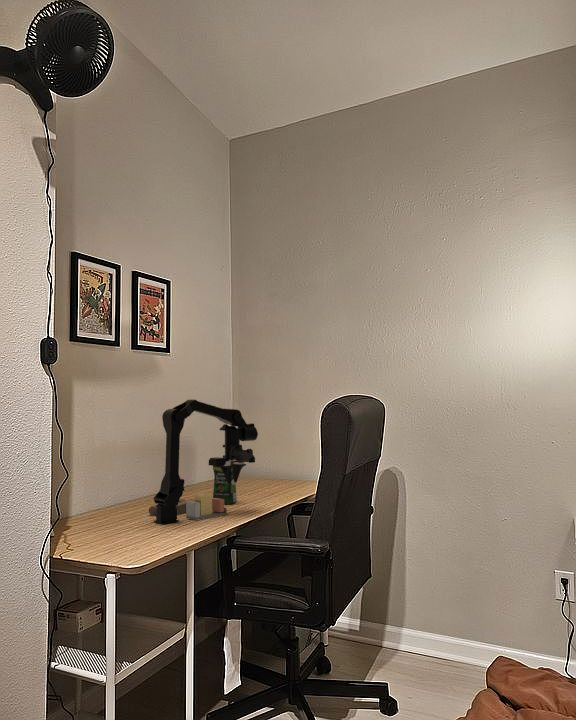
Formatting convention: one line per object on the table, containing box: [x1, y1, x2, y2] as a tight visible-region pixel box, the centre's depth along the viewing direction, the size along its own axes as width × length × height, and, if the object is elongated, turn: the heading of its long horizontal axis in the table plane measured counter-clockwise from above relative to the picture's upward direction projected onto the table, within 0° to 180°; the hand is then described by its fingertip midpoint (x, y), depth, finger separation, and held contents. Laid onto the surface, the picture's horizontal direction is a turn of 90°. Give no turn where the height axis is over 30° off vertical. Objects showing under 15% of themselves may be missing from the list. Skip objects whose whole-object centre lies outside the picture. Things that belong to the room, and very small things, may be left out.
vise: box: [185, 501, 228, 521], centre depth 222 cm, size 14×6×6 cm, turn 133°
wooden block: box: [148, 498, 195, 516], centre depth 231 cm, size 4×11×18 cm
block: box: [194, 493, 213, 516], centre depth 221 cm, size 5×4×7 cm
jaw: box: [212, 497, 225, 512], centre depth 226 cm, size 2×6×4 cm, turn 43°
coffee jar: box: [212, 462, 238, 505], centre depth 251 cm, size 10×8×19 cm
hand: (232, 482), depth 231 cm, fingers open, 3 cm apart
